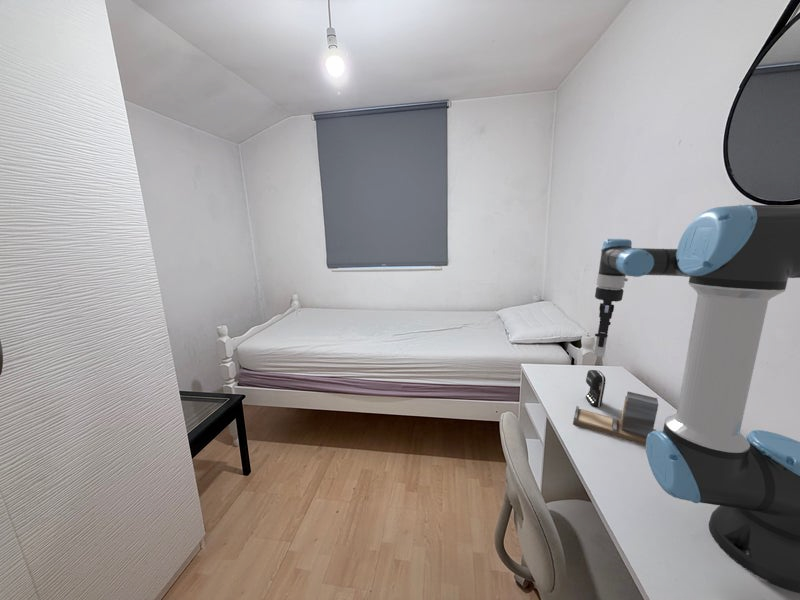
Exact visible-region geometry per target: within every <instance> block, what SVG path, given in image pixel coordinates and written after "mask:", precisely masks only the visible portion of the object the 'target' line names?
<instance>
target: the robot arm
mask: <svg viewBox="0 0 800 600" xmlns="http://www.w3.org/2000/svg"><path fill="white" fill-rule="evenodd" d="M632 243H633V242H632V240H631V239H627V238H606V239H605V240H604V241H603V243H602V247H601V250H600V251H601V254H600V261H599V268H598V273H597V278H596V286H597V287H595V292H594V293H595V294H594V297H595V299H597V300H599V301H602V302H600V304H599V309H598V310H599V314H598V318H599V324H598V329H597V333H595V334H594V337H596V342H595V347H594V353H593V354H594V355H593V356H597V357H603V358H604V357H605V353H606V346H607V341H608V337H609V335H608V332H609V327H610V326H611V321H610V320H611V319H612V317H613V312H614V310H615V304H613V302H616V303H617V302H621V301H622V300H623V295H624V289H623V288H624V287H625V283H626V282H628V280H629V279H628V278H626V277H634V278H639V277H642V276H667V277H669V276H670V277H672V276H673V277H687V278H689V279H688V285H689V286H690V287H691V288H692V289H693V290H694V291H695V292H696V293H697V295H696V296H697V297H696V303H695V308H694V314H693V318H692V319H693V321H692V325H691V331H690V337H689V341H688V342H689V343H688V348H687V352H686V354H687V355H686V359H685V365H684V370H683V375H682V382H681V387H680V393H679V399H678V402H677V403H678V405H677V409H676V413H674V414H671V415H669V416H666V417H665V419H664V424H663V430H661V431H660V430H658V429H655V430H656V431H652V432H651V433H649V434H648V436H647V439H646V446H645V451H646V457H647V461H648V464H649V467H650V470H651V472H652V475H653V477H654V479H655V481H656V482H657V483H658V485H659V486H660V487H661V489H662V490H663V491H664V492H665V493H666V494H668V495H669V496H670V497H673V498H676V499H679V500H684V501H689V502H692V503H694V504H699V503H701V504H708V505H713V506H717V507H716V509H714V510H713V511H712V513H711V515H710V517H709V522H708V530H709V532H710V535H711V537H712V538H713V540H714V541H715V543H717V545H718V546H719V547H720V548H721V550H723V551H724V552H725V553H726V554H727V556H729V557H730V558H731V559H732V560H734V561H735V562H737V564H739V565H740V566H742V567H743V568H745V569H746V570H748V571H749V572H751V573H752V574H755V575H756V576H757V577H759V578H761V579H763V580H764V581H767V582H769V583H771V584H773V585H776V586H778V587H780V588H784V589H786V590H789V591H792V592H795V593H796V592H797V593H800V441H798V440H796V439H793V438H791V437H788V436H785V435H782V434H780V433H776V432H772V431H767V430H761V429H756V430H755V429H753V430H751V431H750V432H749V433H748V434H747V435H746V436H744V435H743V434H742V433H741V428H742V423H743V419H744V415H745V409H746V406H747V400H748V396H749V391H750V388H751V382H752V378H753V373H754V369H755V364H756V359H757V356H758V355H757V354H758V351H759V345H760V341H761V337H762V332H763V329H764V327H763V326H764V322H765V318H766V314H767V309H768V304H769V302H770V300H771V299H772V298H774V297H777V296H778V295H781V294H783V293H784V292H786V289H787V284H788V280H789V279H800V205H794V204H793V205H791V204H790V205H785V204H781V205H778V204H774V205H773V204H770V205H769V204H768V205H767V204H743V205H742V204H738V205H728V206H727V205H726V206H718V207H713V208H710V209H707V210H705V211H704V212H701V213H700V214H699V215H697V216H696V217H694V218H693V220H692V221H691V222H690V223H689V224H688V226H687V227H686V228H685V230H684V232H683V233H682V235H681V237H680V239H679V242H678V245H677V248H650V247H649V248H644V247H642V248H641V247H632Z"/></svg>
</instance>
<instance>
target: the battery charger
mask: <svg viewBox="0 0 800 600" xmlns="http://www.w3.org/2000/svg"><path fill="white" fill-rule="evenodd" d="M585 382H586V384H587V385H588V386H589V391H588V393H586V395H585V399H586V400H587V402H588V403H589V404H590V405H591V406H594V407H597V408H599V407H602V403H603V397H604V393H605V388H606V387H605V386H606V376H605V375H604V374H603V373H602V372H601V371H600V370H599V369H595V370H594V369H590V370H588V371H587V373H586V378H585Z"/></svg>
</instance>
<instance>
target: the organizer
mask: <svg viewBox="0 0 800 600" xmlns="http://www.w3.org/2000/svg"><path fill="white" fill-rule="evenodd" d="M624 397H625V398H624V404H623V408H622V414H621V419H619V418H617V416H615V415H613V417H611V416H610V417H609V416H607V415H603V414H600V413H597V412H596V413H595V412H593V411H588V410H586V409H585V410H584V409H582V408H580V406H578V405H576V406H575V411H574V415H573V423H572V425H575V426H578V427H582V428H585V429H589V430H591V431H595V432H598V433H601V434H605V435H609V436H611V437H615V438H619V439H621V440H625V441H628V442H632V443H635V444H638V445H643V446H645V447H646V439H647V436H648V434H649V433H651V432H652V431H656V430H657V429H654V427H655V424H656V420H657V419H656V418H657V413H658V409H659V402H658V401H659V400H658V398H657V397H653V396H650V395H644V394H641V393H637V392H632V391H627V392H626V396H624Z"/></svg>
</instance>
